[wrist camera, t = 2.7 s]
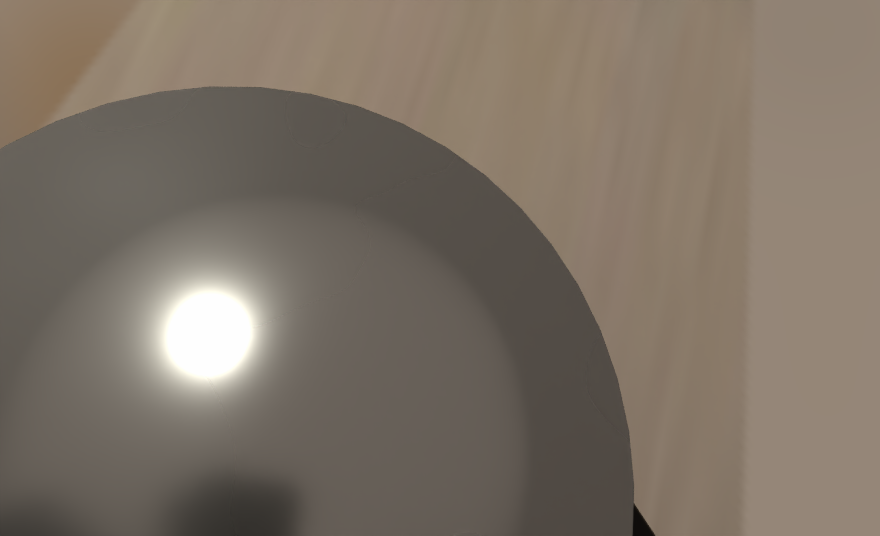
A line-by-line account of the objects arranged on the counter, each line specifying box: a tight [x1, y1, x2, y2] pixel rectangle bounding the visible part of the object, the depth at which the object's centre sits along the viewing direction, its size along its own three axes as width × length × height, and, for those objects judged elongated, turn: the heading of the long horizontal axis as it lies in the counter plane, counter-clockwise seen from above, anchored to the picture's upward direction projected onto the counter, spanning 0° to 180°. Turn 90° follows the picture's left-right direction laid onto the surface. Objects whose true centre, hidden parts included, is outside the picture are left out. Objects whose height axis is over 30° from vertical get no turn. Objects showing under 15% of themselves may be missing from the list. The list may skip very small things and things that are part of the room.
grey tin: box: [0, 87, 634, 536], centre depth 10 cm, size 6×6×13 cm
